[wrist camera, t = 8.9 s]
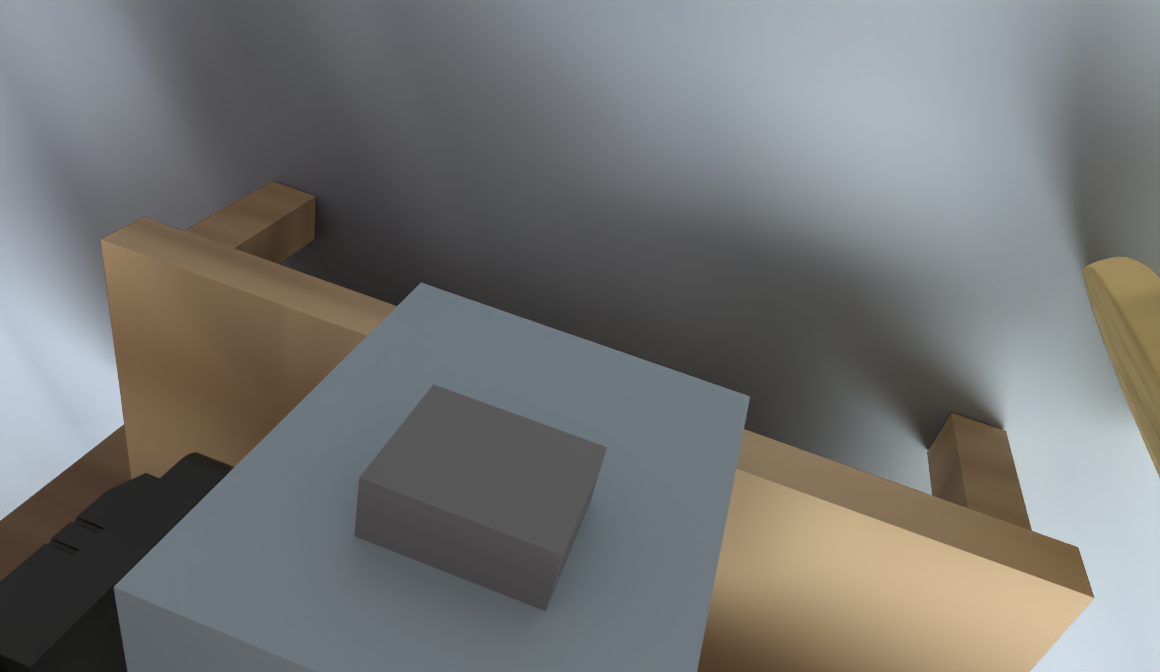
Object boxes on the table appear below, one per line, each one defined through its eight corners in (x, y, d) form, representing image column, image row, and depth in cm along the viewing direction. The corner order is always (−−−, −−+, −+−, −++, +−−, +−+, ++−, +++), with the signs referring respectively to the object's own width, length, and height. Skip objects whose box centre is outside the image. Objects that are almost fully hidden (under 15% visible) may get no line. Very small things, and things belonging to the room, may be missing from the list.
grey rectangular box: (426, 234, 12) (103, 522, 7) (769, 350, 11) (698, 765, 6) (384, 588, 16) (169, 925, 11) (629, 686, 15) (519, 1090, 10)
